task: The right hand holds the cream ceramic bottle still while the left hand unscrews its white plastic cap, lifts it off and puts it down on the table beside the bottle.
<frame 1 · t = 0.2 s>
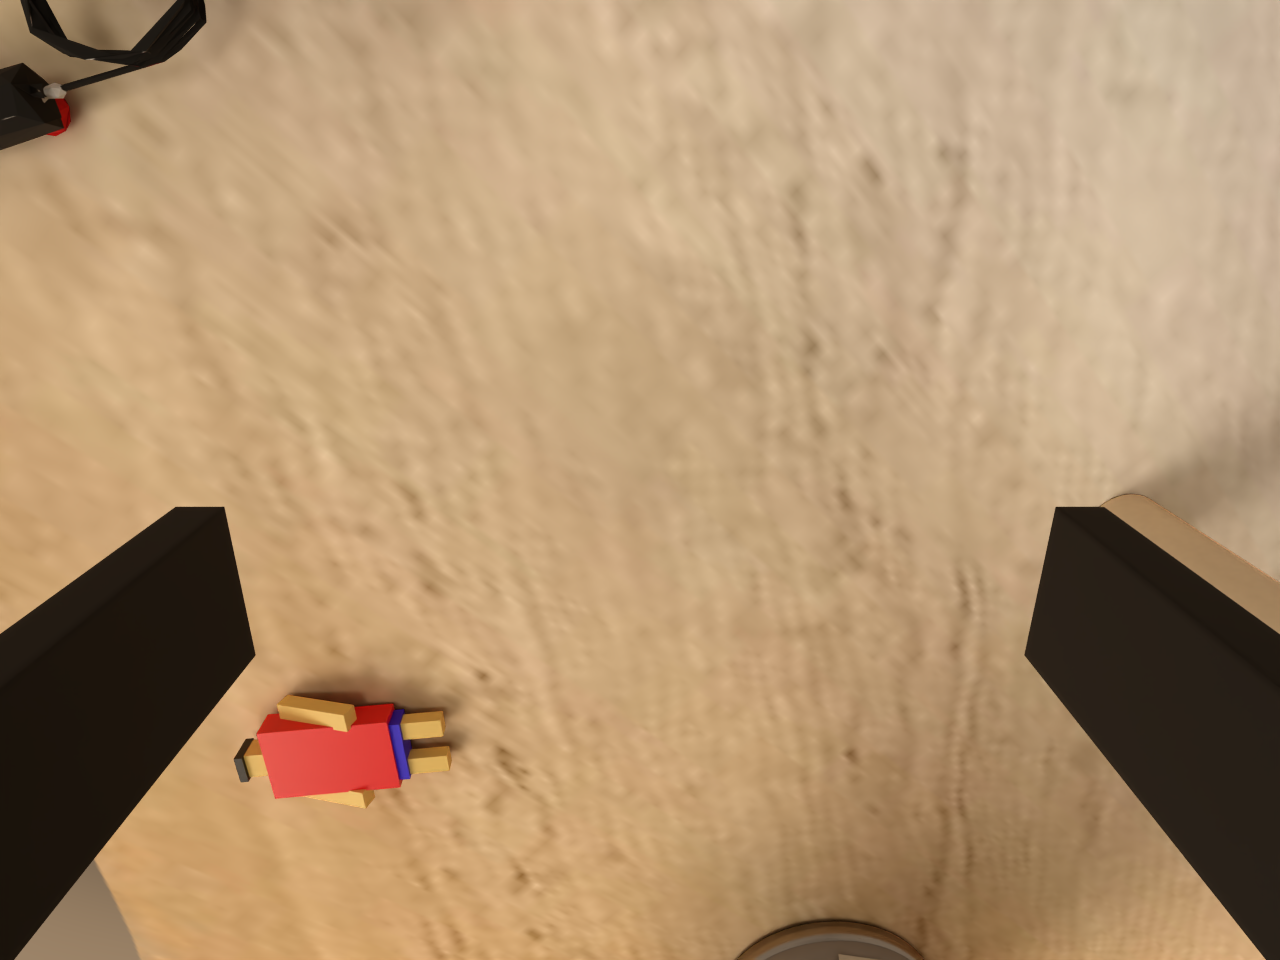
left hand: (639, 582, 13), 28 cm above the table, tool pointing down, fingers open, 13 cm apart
bottle: (1123, 528, 43), on the table
toy figure: (352, 736, 48), on the table
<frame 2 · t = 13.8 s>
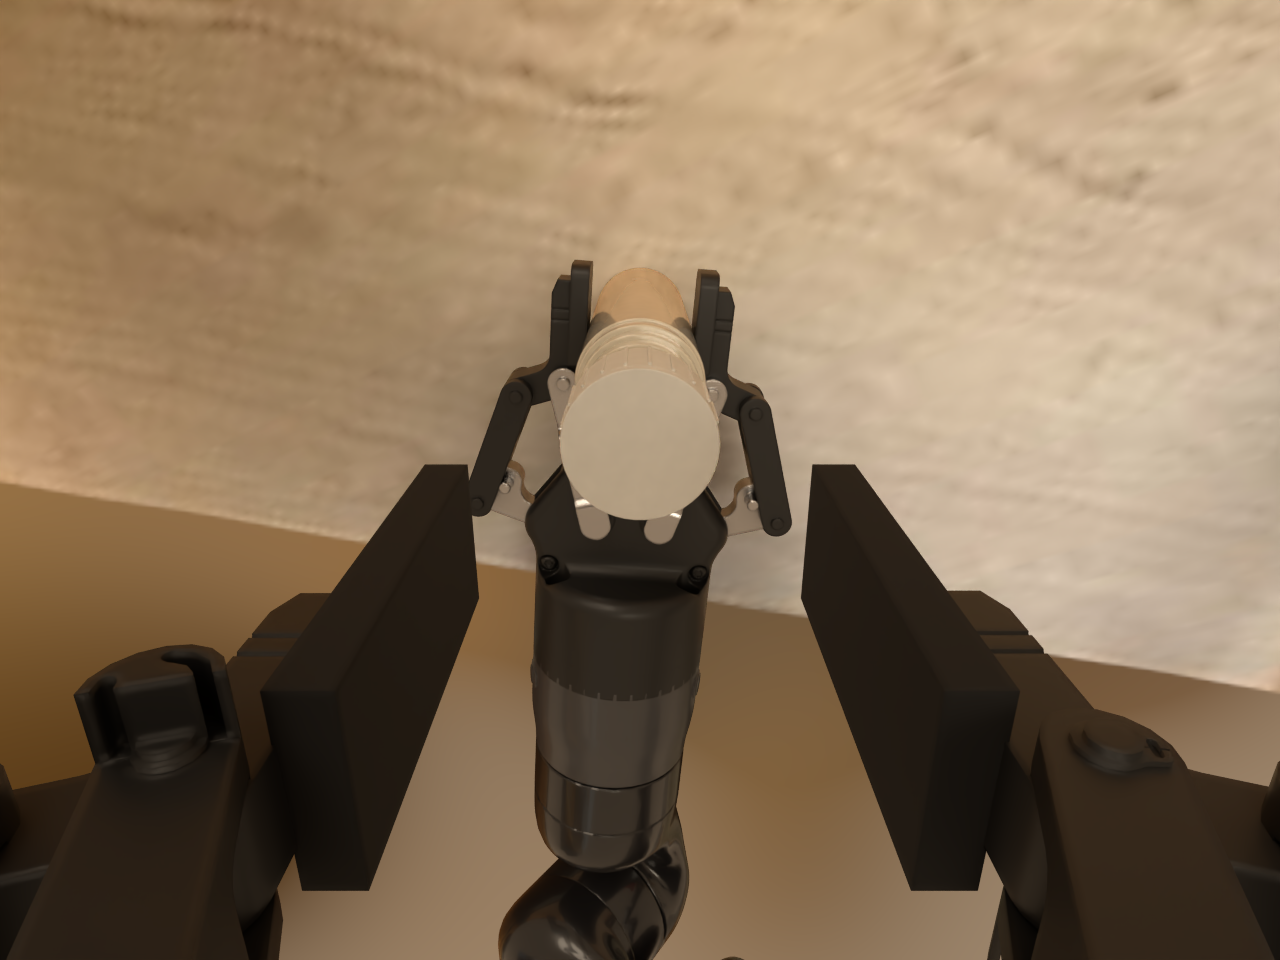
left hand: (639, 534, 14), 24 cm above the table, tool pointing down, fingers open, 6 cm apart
right hand: (646, 269, 29), fingers closed on bottle, 4 cm apart
bottle: (640, 312, 37), on the table, touching right hand
cap: (640, 443, 19), point 19 cm above the table, screwed on, not yet turned
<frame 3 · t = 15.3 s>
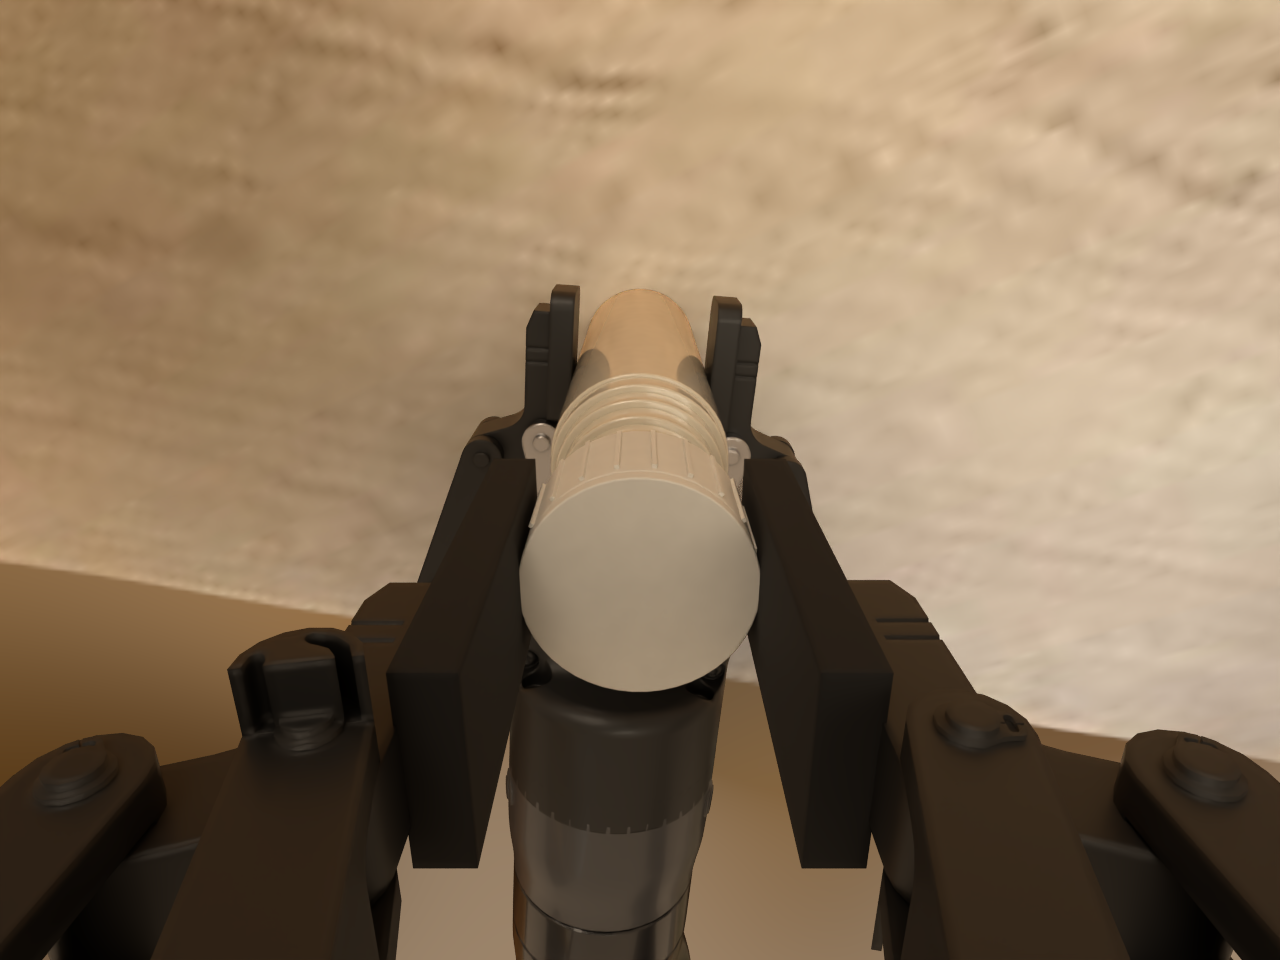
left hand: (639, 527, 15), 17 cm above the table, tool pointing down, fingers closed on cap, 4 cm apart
right hand: (647, 297, 23), fingers closed on bottle, 4 cm apart
bottle: (639, 342, 30), on the table, touching right hand
cap: (639, 582, 13), point 19 cm above the table, screwed on, not yet turned, touching left hand
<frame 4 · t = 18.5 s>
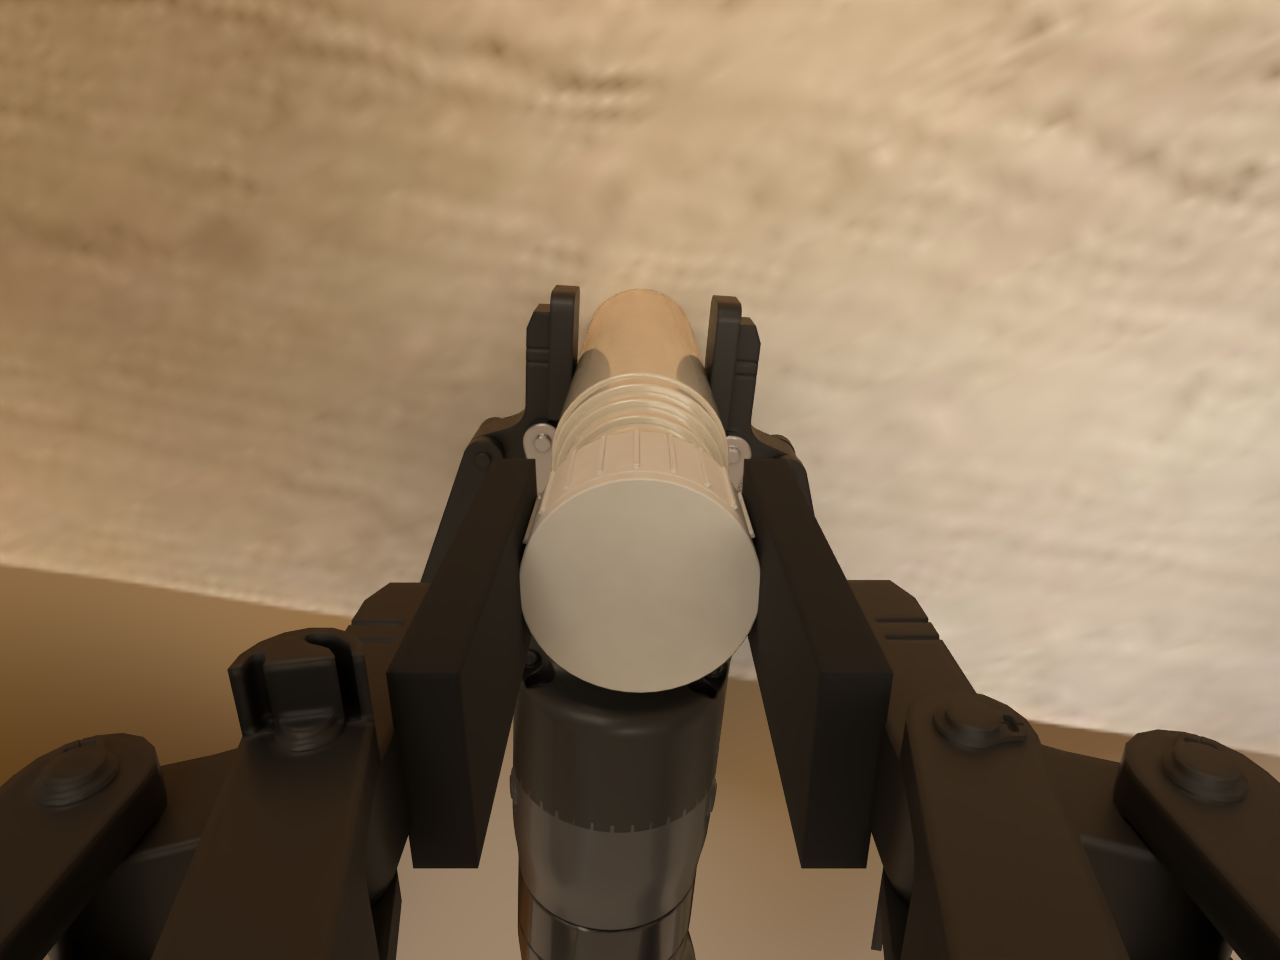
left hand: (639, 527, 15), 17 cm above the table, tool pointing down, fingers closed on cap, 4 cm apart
right hand: (647, 297, 23), fingers closed on bottle, 4 cm apart
bottle: (640, 342, 30), on the table, touching right hand
cap: (640, 582, 13), point 19 cm above the table, turned 94° so far, risen 0.1 cm, still on its thread, touching left hand
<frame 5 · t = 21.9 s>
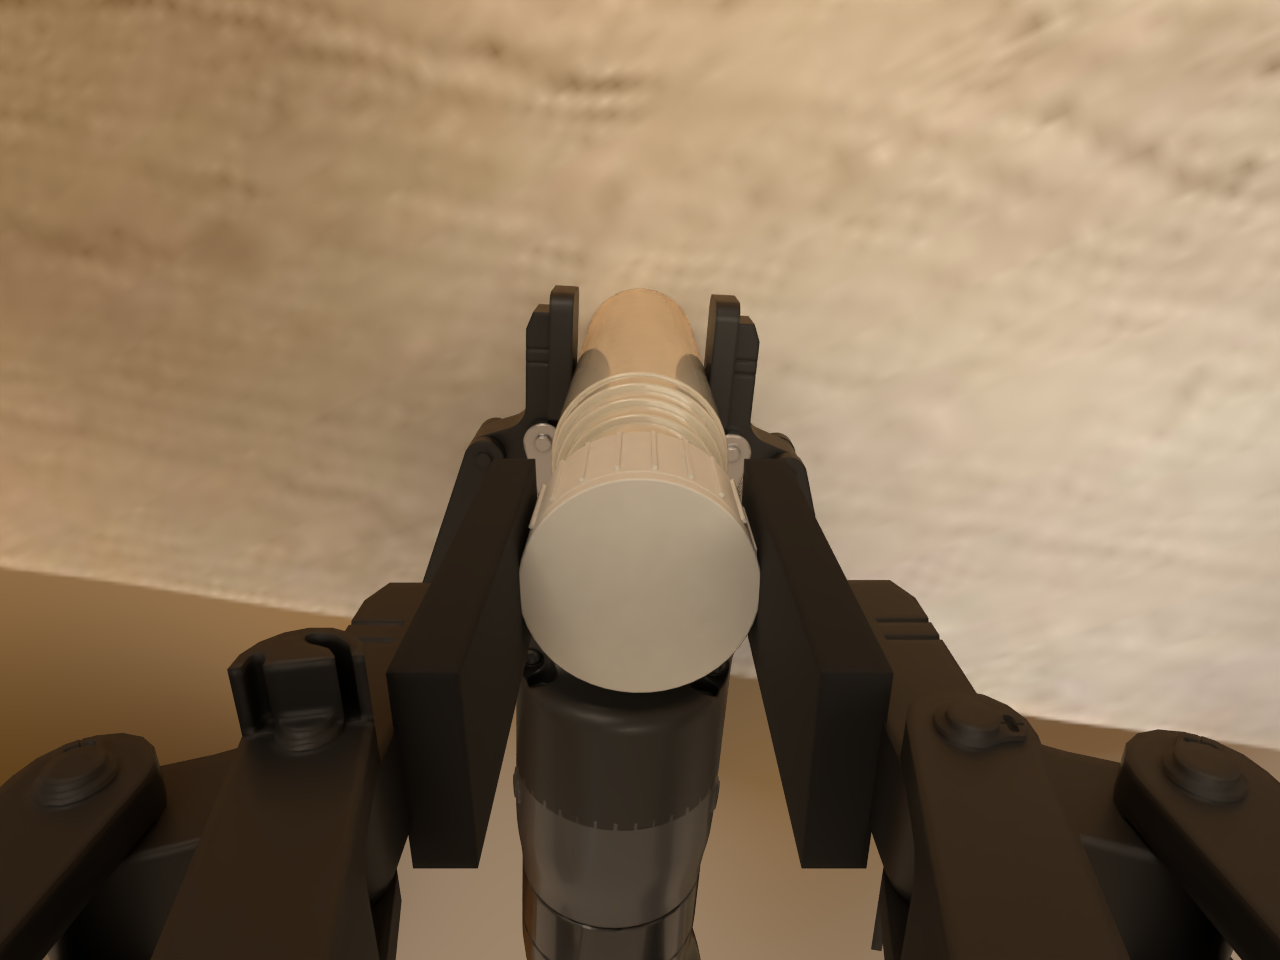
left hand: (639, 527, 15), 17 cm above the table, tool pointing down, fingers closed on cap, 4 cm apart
right hand: (646, 296, 23), fingers closed on bottle, 4 cm apart
bottle: (639, 342, 31), on the table, touching right hand
cap: (639, 582, 13), point 19 cm above the table, turned 188° so far, risen 0.2 cm, still on its thread, touching left hand
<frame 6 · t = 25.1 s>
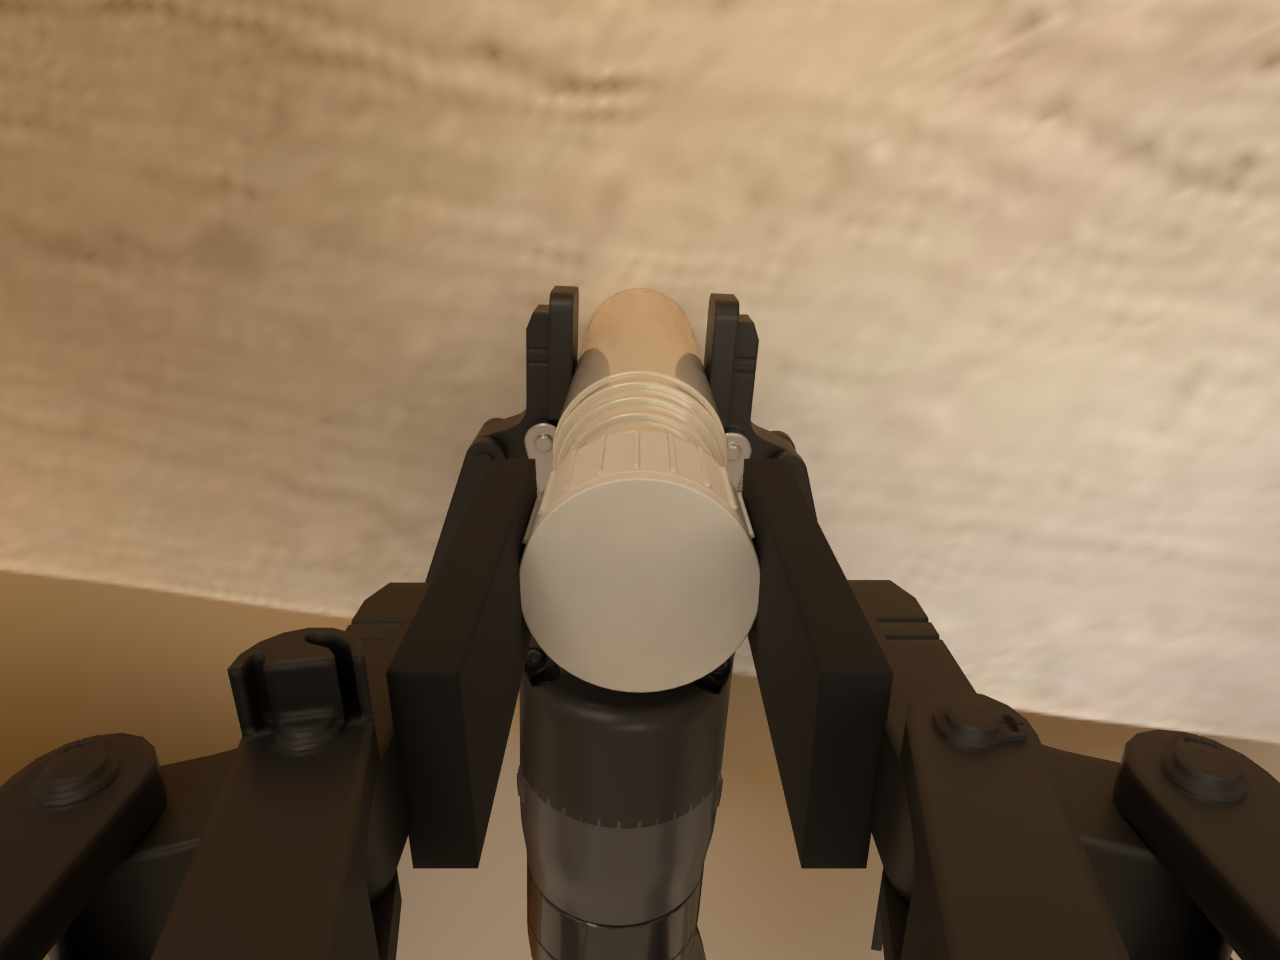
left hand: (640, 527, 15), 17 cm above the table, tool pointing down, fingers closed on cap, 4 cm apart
right hand: (645, 296, 23), fingers closed on bottle, 4 cm apart
bottle: (639, 341, 31), on the table, touching right hand
cap: (639, 582, 13), point 19 cm above the table, turned 281° so far, risen 0.3 cm, still on its thread, touching left hand
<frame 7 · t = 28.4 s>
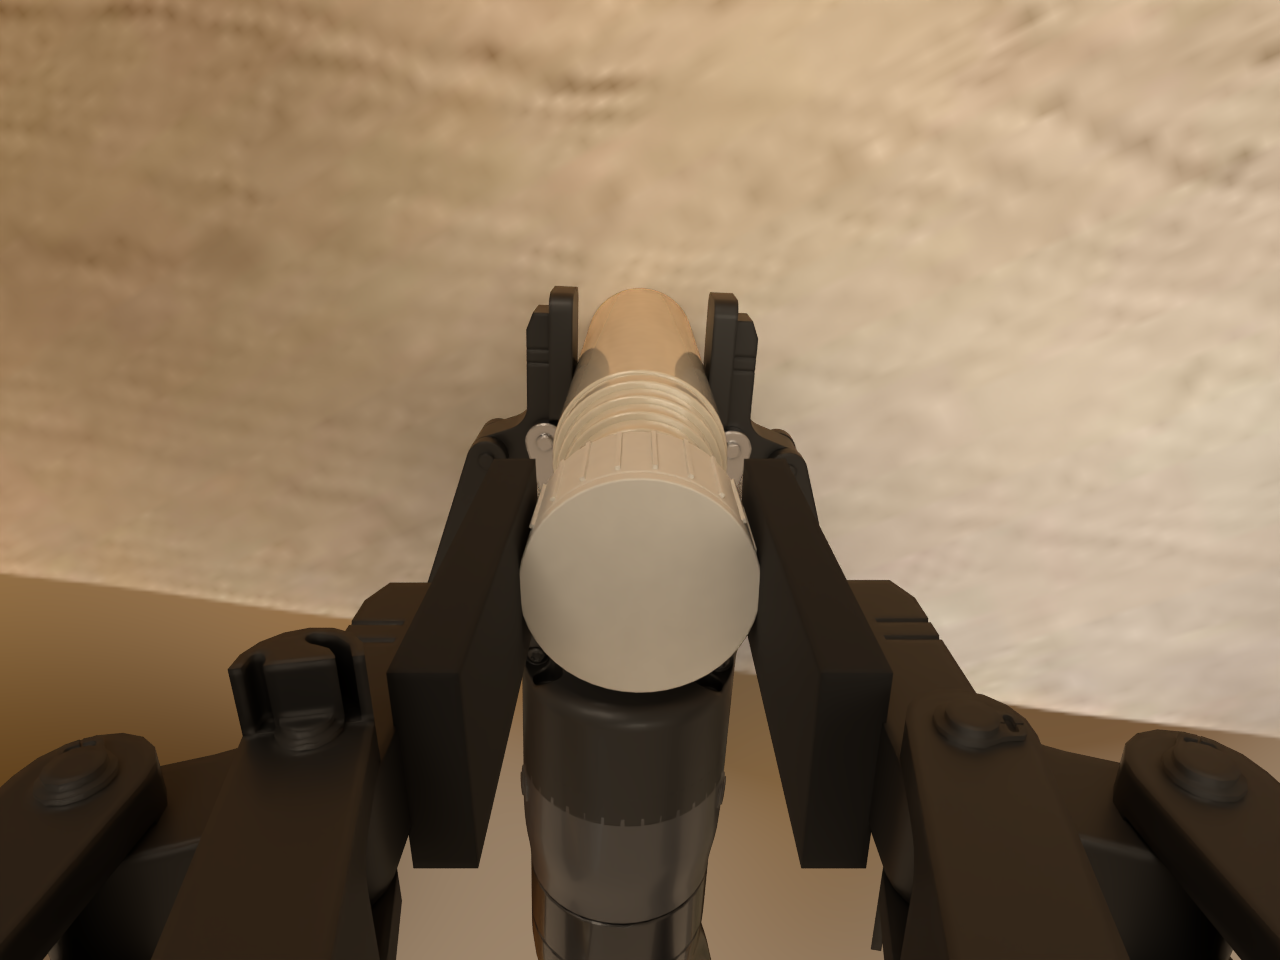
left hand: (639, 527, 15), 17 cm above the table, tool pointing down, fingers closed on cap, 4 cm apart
right hand: (644, 295, 23), fingers closed on bottle, 4 cm apart
bottle: (639, 341, 31), on the table, touching right hand
cap: (639, 582, 13), point 19 cm above the table, turned 375° so far, risen 0.4 cm, still on its thread, touching left hand
when the left hand's fingers open (1 cm above the table, at t = 34.6 s): cap drops 1 cm, point 2 cm above the table.
when the right hand's fingers open (7 cm above the table, at t = 35.8 s): bottle stays where it is, on the table.
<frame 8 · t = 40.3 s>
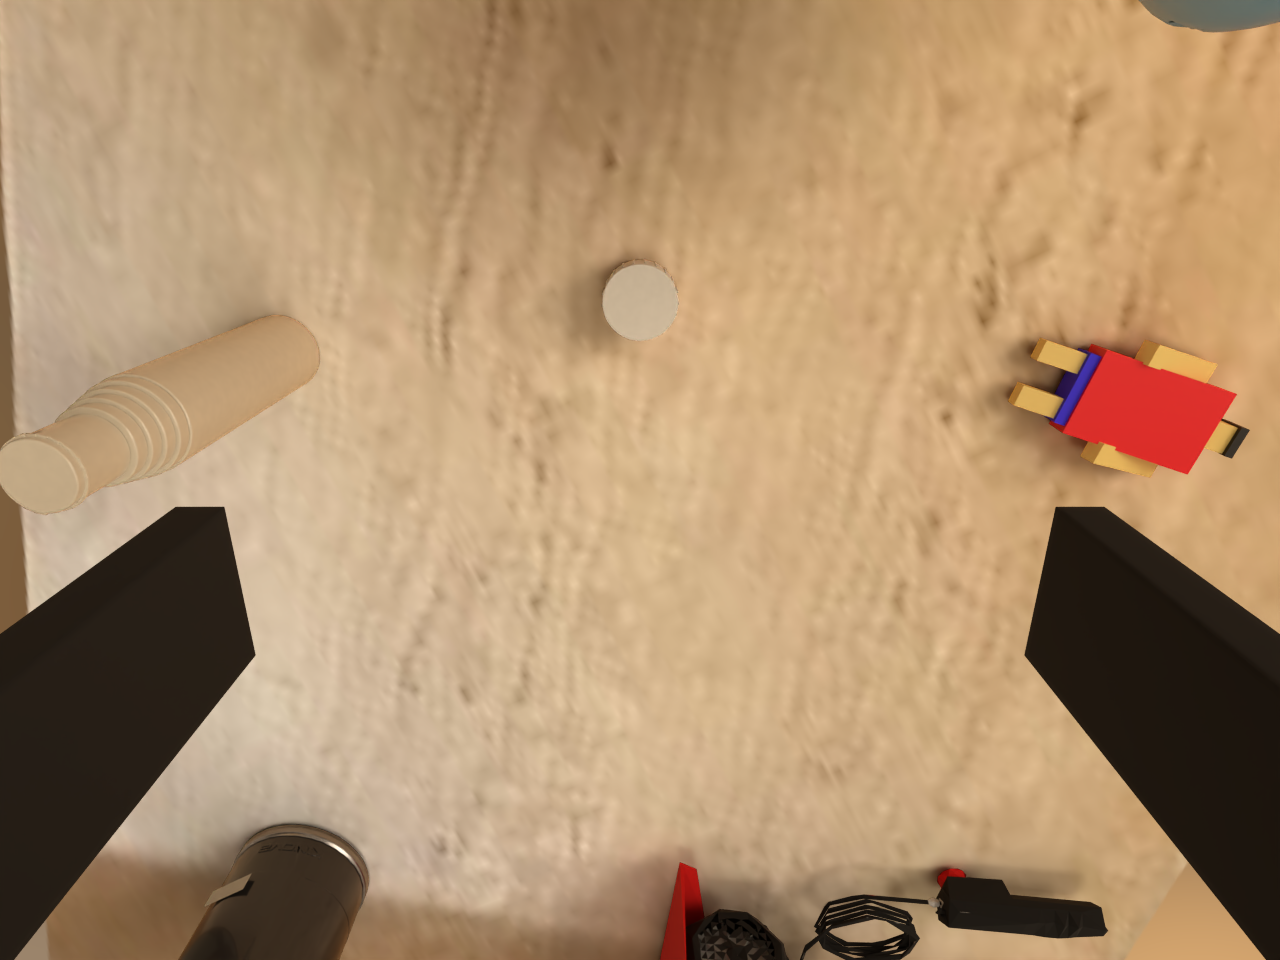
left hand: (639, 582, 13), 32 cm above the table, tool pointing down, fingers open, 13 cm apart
bottle: (282, 352, 43), on the table
cap: (640, 302, 40), point 2 cm above the table, off its thread
toy figure: (1116, 398, 44), on the table
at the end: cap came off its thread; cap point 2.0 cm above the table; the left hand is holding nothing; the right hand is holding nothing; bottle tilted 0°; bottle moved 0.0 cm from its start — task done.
